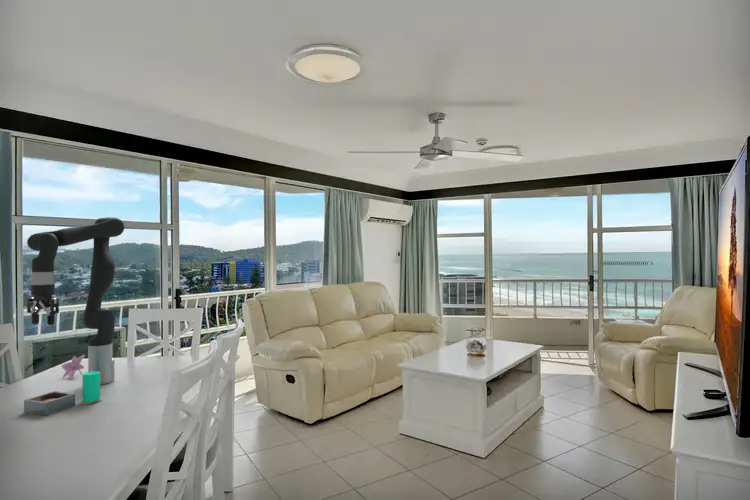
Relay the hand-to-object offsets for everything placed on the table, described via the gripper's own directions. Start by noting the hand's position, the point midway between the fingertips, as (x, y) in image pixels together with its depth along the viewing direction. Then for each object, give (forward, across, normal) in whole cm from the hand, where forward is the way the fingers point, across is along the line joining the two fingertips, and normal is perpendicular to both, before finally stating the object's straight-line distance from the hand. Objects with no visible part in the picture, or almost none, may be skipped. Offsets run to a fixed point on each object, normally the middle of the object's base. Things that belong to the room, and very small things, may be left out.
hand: (42, 324), depth 172 cm
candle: (+30, -20, -5) cm, 36 cm away
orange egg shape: (+30, -13, +6) cm, 33 cm away
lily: (+30, +21, -29) cm, 47 cm away
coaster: (+30, -20, -5) cm, 36 cm away
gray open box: (+30, -13, +6) cm, 33 cm away
